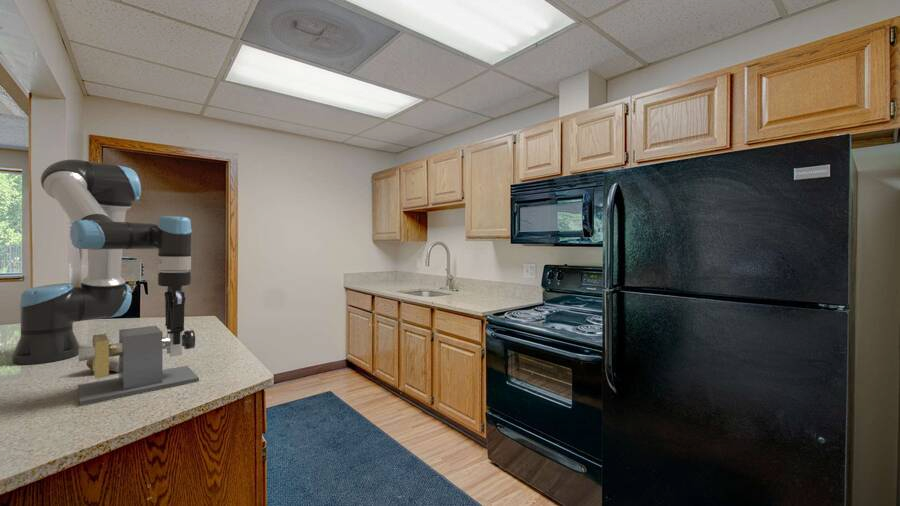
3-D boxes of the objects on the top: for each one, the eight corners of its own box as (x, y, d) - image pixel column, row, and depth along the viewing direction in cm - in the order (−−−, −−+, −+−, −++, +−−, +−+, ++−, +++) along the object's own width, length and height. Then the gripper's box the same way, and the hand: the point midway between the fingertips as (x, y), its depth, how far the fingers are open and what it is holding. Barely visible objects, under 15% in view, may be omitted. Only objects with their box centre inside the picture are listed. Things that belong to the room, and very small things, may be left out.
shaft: (78, 362, 97) (78, 342, 97) (190, 346, 114) (191, 328, 114) (79, 367, 93) (79, 346, 93) (195, 349, 110) (195, 331, 110)
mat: (77, 388, 100) (77, 384, 100) (187, 368, 117) (187, 365, 117) (80, 405, 90) (80, 401, 90) (198, 381, 108) (199, 377, 108)
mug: (118, 377, 110) (96, 348, 108) (97, 387, 113) (75, 359, 111) (142, 362, 117) (122, 335, 115) (121, 373, 120) (102, 346, 118)
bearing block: (119, 383, 105) (119, 329, 104) (155, 376, 110) (155, 325, 110) (123, 394, 98) (123, 336, 97) (162, 386, 103) (162, 332, 103)
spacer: (92, 369, 100) (92, 335, 100) (105, 367, 102) (105, 333, 102) (95, 378, 94) (95, 342, 94) (108, 376, 96) (108, 340, 96)
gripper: (153, 269, 111) (152, 350, 112) (163, 274, 100) (163, 363, 101) (184, 268, 117) (183, 345, 117) (197, 273, 105) (197, 357, 106)
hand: (174, 353), depth 109 cm, fingers closed on shaft, 3 cm apart
